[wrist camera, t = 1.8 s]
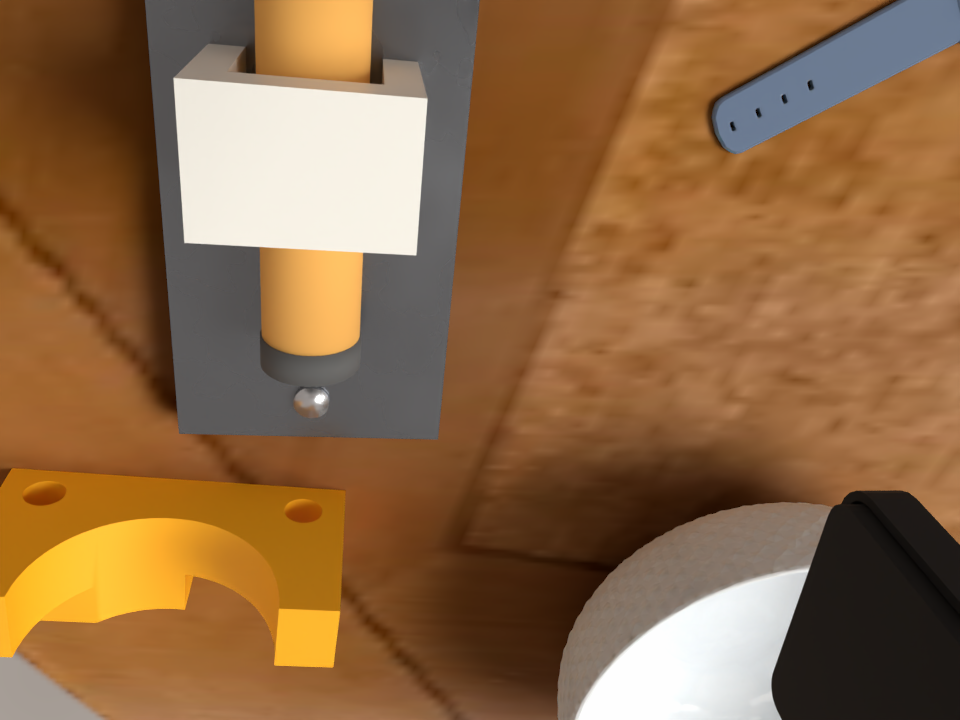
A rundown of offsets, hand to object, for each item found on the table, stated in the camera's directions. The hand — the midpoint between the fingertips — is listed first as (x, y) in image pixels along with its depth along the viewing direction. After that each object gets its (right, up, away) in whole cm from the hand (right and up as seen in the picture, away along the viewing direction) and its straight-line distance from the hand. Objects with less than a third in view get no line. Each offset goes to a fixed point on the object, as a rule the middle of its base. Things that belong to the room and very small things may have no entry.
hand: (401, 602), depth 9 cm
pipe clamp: (-11, -4, +24) cm, 27 cm away
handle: (-4, +9, +16) cm, 19 cm away
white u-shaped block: (-4, +9, +16) cm, 19 cm away
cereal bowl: (+12, -8, +29) cm, 33 cm away
